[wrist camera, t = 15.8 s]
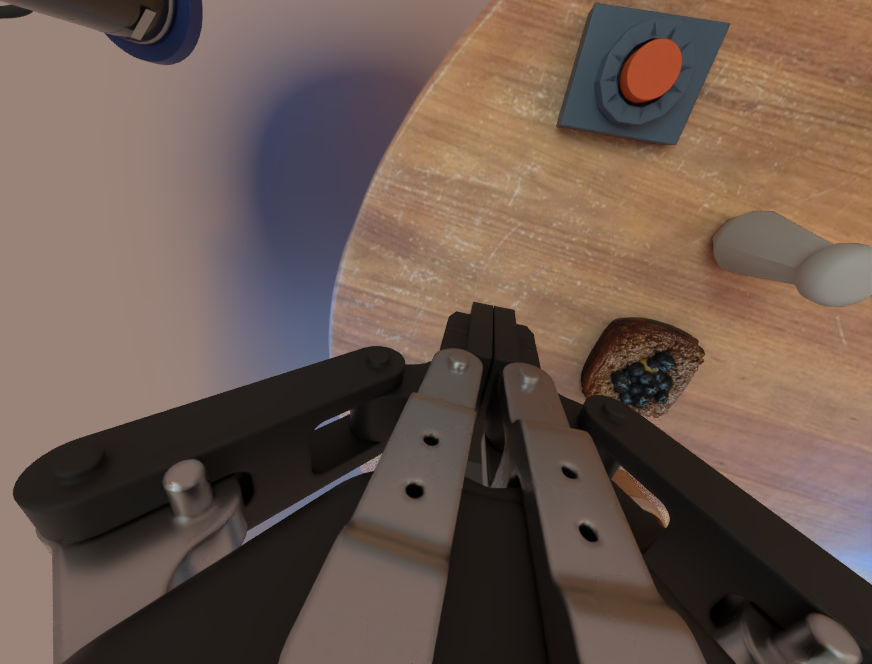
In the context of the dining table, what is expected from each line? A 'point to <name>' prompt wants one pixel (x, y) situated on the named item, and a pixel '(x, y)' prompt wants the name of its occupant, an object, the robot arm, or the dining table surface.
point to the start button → (651, 71)
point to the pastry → (642, 364)
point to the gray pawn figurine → (795, 258)
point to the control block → (605, 58)
